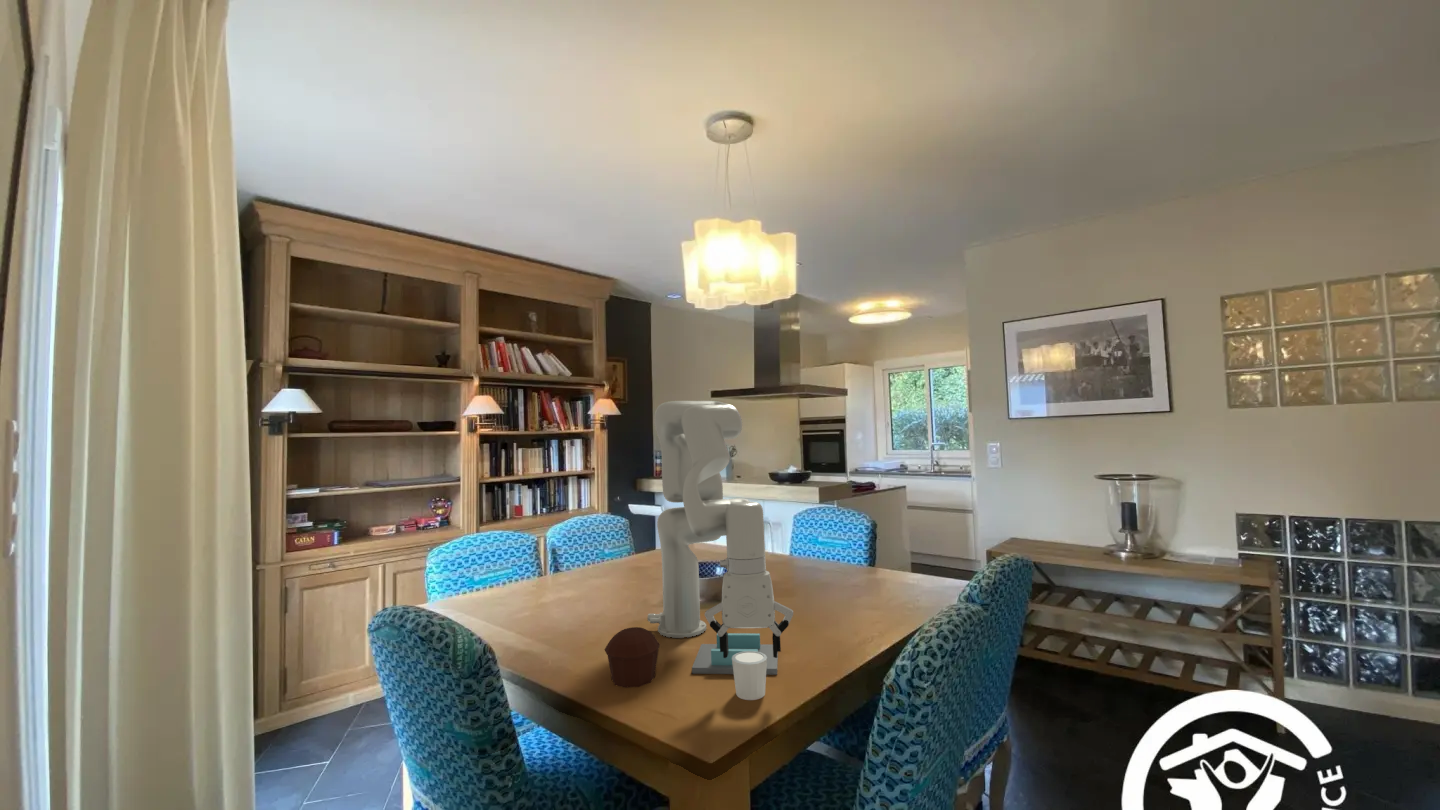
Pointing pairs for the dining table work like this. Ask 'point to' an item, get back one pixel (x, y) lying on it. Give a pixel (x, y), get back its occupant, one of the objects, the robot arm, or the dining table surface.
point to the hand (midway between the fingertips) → (750, 655)
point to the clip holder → (713, 660)
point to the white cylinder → (749, 674)
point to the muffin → (632, 657)
